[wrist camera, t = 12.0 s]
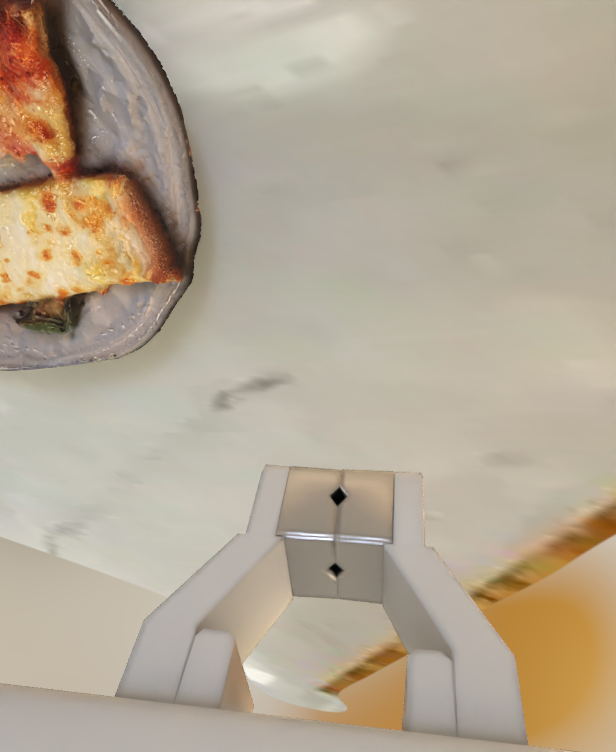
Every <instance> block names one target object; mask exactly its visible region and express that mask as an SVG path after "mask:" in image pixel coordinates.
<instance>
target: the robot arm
mask: <svg viewBox="0 0 616 752" xmlns="http://www.w3.org/2000/svg"><path fill="white" fill-rule="evenodd" d="M293 596H298V597H315V598H332V599H343V600H352V601H361V602H370V603H379V604H383V608H384V609H385V611H386V613H387V615H388V617H389V619H390V621H391V623H392V625H393V626H394V628H395V630H396V632H397V634H398V636H399V638H400V640H401V642H402V643H403V645H404V647H405V649H406V651H407V653H408V656H407V668H406V681H405V693H404V694H405V695H404V706H403V719H402V731H400V730H392V729H383V728H375V727H366V726H358V725H350V724H341V723H332V722H324V721H316V720H307V719H298V718H290V717H282V716H273V715H265V714H257V713H253V708H254V704H253V700H252V697H251V693H250V690H249V687H248V683H247V680H246V676H245V672H244V669H243V666H242V663H243V662H244V661H245V660H246V658H247V657H248V656H249V655H250V653H251V652H252V651H253V649H254V648H255V647H256V646H257V644H258V643H259V642H260V641H261V639H262V638H263V637H264V635H265V634H266V633H267V632H268V630H269V629H270V628H271V626H272V625H273V624H274V623H275V621H276V620H277V619H278V618H279V616H280V615H281V614H282V612H283V611H284V610H285V609H286V607H287V606H288V605H289V603H290V602H291V601H292V600H293ZM0 752H578V751H569V750H561V749H552V748H543V747H535V746H528V741H527V734H526V727H525V721H524V714H523V707H522V700H521V694H520V687H519V680H518V673H517V667H516V660H515V656H514V655H513V653H512V652H511V651H510V649H509V648H508V647H507V645H506V644H505V643H504V641H503V640H502V639H501V637H500V636H499V635H498V633H497V632H496V630H495V629H494V628H493V627H492V625H491V624H490V622H489V621H488V620H487V619H486V617H485V616H484V614H483V613H482V612H481V610H480V609H479V608H478V606H477V605H476V604H475V602H474V601H473V600H472V598H471V597H470V596H469V594H468V593H467V592H466V590H465V589H464V588H463V586H462V585H461V584H460V582H459V581H458V580H457V578H456V577H455V576H454V574H453V573H452V572H451V570H450V569H449V568H448V566H447V565H446V564H445V562H444V561H443V560H442V558H441V557H440V556H439V554H438V553H437V552H436V550H435V549H434V548H433V547H425V529H424V496H423V476H422V474H421V473H410V472H395V473H394V471H369V470H344V469H342V470H334V469H321V468H308V467H295V466H292V467H291V466H277V465H266V466H265V467H264V469H263V471H262V474H261V477H260V481H259V485H258V489H257V493H256V496H255V500H254V504H253V508H252V511H251V515H250V519H249V523H248V526H247V530H246V534H237V535H236V536H235V537H234V538H233V539H232V540H230V541H229V542H228V543H227V544H226V545H225V546H224V547H223V548H222V549H221V550H220V551H218V552H217V553H216V554H215V555H214V556H213V557H212V558H211V559H210V560H209V561H208V562H206V563H205V564H204V565H203V566H202V567H201V568H200V569H199V570H198V571H197V572H196V573H195V574H193V575H192V576H191V577H190V578H189V579H188V580H187V581H186V582H185V583H184V584H183V585H181V586H180V587H179V588H178V589H177V590H176V591H175V592H174V593H173V594H172V595H171V596H169V597H168V598H167V599H166V600H165V601H164V602H163V603H162V604H161V605H160V606H159V607H157V608H156V609H155V610H154V611H153V612H152V613H151V614H150V615H149V616H148V617H147V618H146V619H144V621H143V624H142V626H141V629H140V631H139V634H138V637H137V639H136V642H135V645H134V647H133V650H132V653H131V655H130V658H129V661H128V663H127V666H126V668H125V671H124V674H123V676H122V679H121V681H120V684H119V686H118V689H117V692H116V694H115V697H112V696H104V695H94V694H86V693H78V692H69V691H61V690H53V689H44V688H35V687H27V686H18V685H10V684H1V683H0Z"/></svg>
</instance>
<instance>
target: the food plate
mask: <svg viewBox="0 0 616 752" xmlns="http://www.w3.org/2000/svg"><path fill="white" fill-rule="evenodd" d="M162 67H163V66H162V65H161V62H160V61H159V60H158V59H157V57H156V55H155V54H154V52H153V50H151V49H150V47H148V43H147V42H146V41H145V39H144V38H143V37H142V35H141V33H140V32H139V31H138V30H137V29H136V28H135V26H134V25H133V24H132V23H131V22H130V20H128V19H127V17H126V16H124V15H123V12H122V11H121V10H119V9H118V7H116V6H115V3H114V2H112V1H111V0H0V367H2V368H3V367H4V368H22V367H32V368H22V369H1V370H0V371H17V370H31V369H42V368H53V367H57V366H68V365H76V364H83V363H91V362H92V361H93V362H97V361H98V360H97V359H102V360H99V361H103V360H107V359H108V358H109V357H112V356H116V358H114V359H117V358H120V357H122V356H125V355H127V354H129V353H132V352H134V351H135V350H138V349H140V348H141V347H142V346H143V345H145V344H146V343H148V342H149V341H150V340H151V339H152V337H153V336H154V335H155V334H156V333H158V332H159V331H160V330H161V327H162V326H163V324H164V323H165V321H166V319H168V317H169V315H170V313H171V311H172V310H173V308H174V306H175V305H176V304H177V302H178V301H179V300H180V298H181V297H182V294H183V293H185V291H186V290H187V288H188V287H189V285H190V284H191V282H192V279H193V275H194V274H193V271H194V270H193V269H194V261H193V260H194V258H195V257H194V255H196V254H195V253H196V249H197V246H198V242H199V239H200V237H201V235H200V231H201V218H200V217H201V215H200V211H199V208H198V207H197V206H198V203H197V201H198V190H197V182H196V179H195V176H194V173H195V172H194V167H193V164H192V154H191V149H190V146H189V141H188V138H187V132H186V129H185V125H184V119H183V115H182V111H181V107H180V105H179V104H178V101H177V97H176V94H174V92H173V88H172V87H171V86H170V82H169V80H168V78H167V77H166V76H167V75H166V73H165V71H164V70H163V69H162ZM86 360H87V361H89V362H80V361H86ZM109 360H111V359H109ZM5 366H7V367H5ZM33 366H34V367H33ZM35 366H36V367H35Z"/></svg>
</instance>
